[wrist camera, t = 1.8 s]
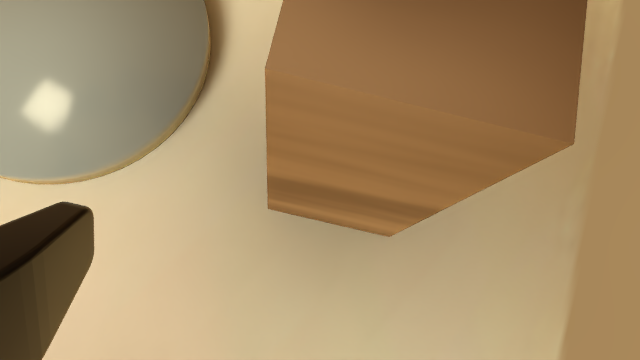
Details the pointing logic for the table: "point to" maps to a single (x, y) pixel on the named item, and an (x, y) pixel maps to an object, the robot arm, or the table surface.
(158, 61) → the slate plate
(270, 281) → the table surface
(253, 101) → the table surface
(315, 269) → the table surface
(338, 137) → the walnut block
